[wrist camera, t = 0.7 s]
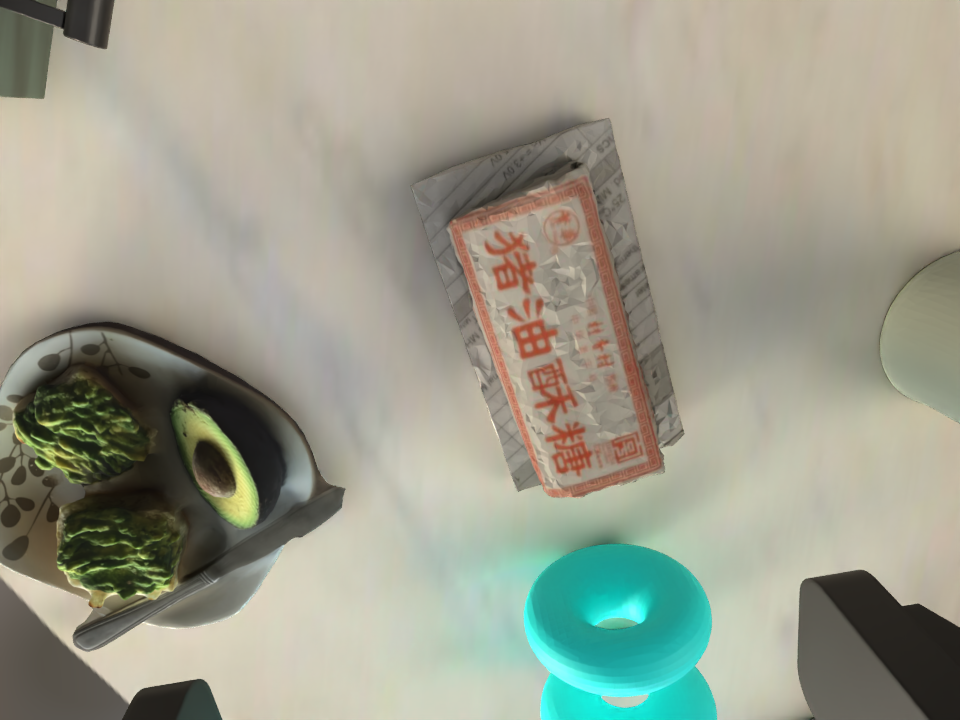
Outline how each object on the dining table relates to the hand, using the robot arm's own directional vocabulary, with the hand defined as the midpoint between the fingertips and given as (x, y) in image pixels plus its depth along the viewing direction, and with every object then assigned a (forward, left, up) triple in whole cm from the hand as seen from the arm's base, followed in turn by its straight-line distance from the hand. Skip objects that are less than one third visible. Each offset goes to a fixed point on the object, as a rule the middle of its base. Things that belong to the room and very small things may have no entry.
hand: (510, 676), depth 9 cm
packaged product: (+3, +5, -27) cm, 28 cm away
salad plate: (+11, -17, -27) cm, 34 cm away
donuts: (+22, +8, -27) cm, 36 cm away
